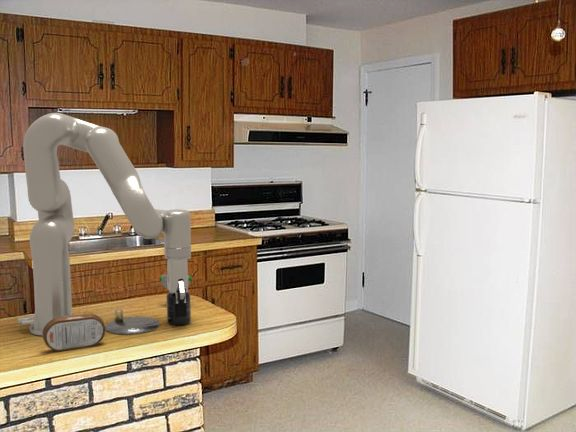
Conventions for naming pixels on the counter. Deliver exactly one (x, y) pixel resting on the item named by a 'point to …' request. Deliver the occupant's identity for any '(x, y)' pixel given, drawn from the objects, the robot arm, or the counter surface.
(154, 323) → the plate
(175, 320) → the supplement bottle
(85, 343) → the tin
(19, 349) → the counter surface
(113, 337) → the counter surface
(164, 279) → the mechanical component
